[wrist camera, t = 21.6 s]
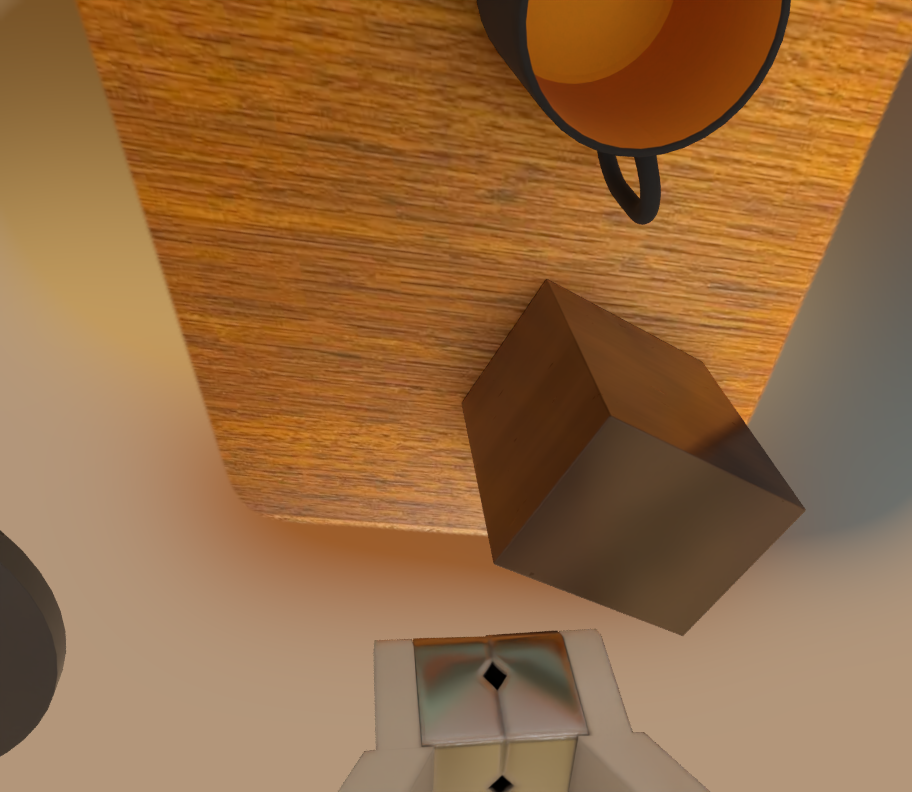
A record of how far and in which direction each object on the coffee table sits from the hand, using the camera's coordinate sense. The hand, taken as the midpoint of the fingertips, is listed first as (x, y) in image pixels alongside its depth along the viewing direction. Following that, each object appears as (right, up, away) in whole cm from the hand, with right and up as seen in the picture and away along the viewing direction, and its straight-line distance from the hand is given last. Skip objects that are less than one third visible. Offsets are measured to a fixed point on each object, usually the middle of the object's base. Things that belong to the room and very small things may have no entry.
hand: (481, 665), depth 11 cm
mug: (+5, +19, +24) cm, 31 cm away
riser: (+6, +4, +33) cm, 33 cm away
